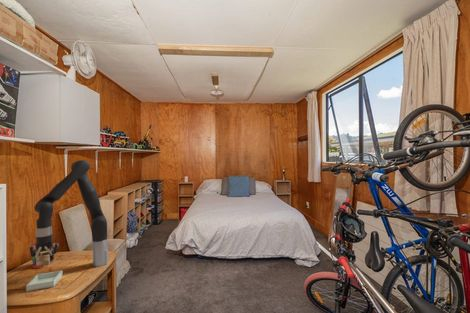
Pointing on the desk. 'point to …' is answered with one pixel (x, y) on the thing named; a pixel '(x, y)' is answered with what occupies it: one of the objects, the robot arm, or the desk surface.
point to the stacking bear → (35, 259)
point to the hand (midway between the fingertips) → (44, 261)
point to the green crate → (44, 280)
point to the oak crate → (43, 259)
